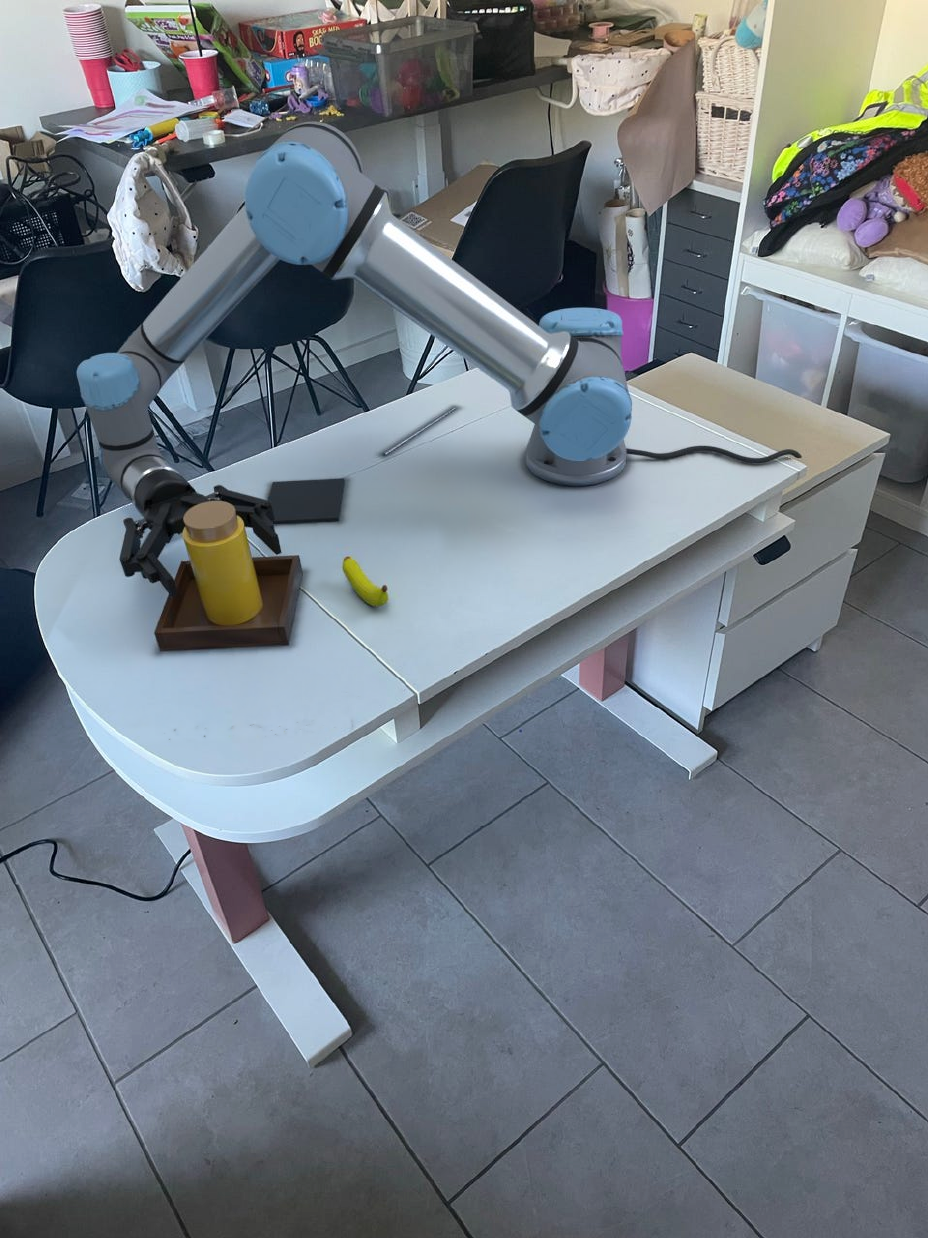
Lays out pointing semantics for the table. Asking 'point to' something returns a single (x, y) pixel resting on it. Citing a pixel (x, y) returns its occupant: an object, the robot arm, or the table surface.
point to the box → (270, 627)
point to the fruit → (364, 584)
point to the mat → (306, 500)
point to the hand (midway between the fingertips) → (226, 566)
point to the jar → (222, 563)
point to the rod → (420, 431)
